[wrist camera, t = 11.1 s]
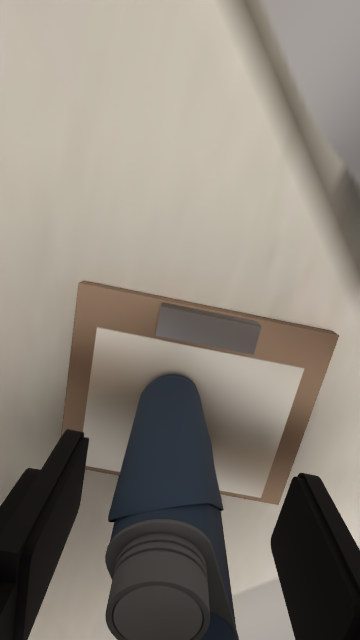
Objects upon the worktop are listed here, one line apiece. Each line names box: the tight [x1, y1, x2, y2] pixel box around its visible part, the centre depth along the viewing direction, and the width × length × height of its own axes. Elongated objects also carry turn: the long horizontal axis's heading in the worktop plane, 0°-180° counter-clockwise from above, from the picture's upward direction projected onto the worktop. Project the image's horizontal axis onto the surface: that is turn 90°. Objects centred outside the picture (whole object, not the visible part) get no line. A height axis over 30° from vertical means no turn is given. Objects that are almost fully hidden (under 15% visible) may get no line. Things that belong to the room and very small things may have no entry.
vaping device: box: [105, 374, 239, 640], centre depth 8 cm, size 3×5×12 cm, turn 14°
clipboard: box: [61, 281, 339, 505], centre depth 14 cm, size 9×11×1 cm
